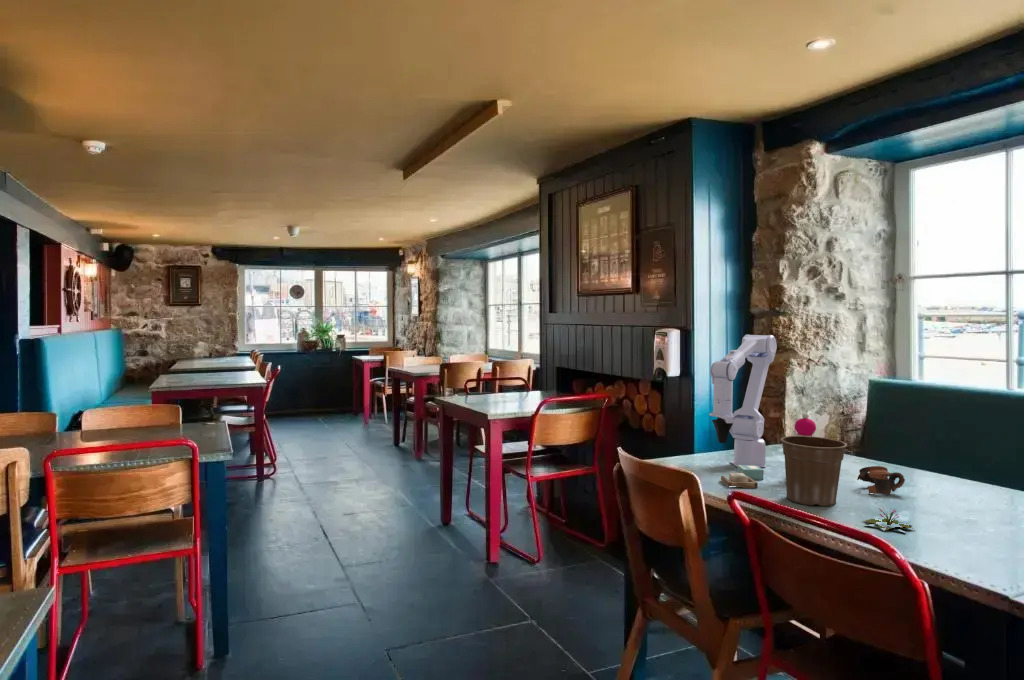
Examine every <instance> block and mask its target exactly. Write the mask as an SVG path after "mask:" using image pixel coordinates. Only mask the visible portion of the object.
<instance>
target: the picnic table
mask: <svg viewBox="0 0 1024 680" xmlns="http://www.w3.org/2000/svg"><path fill="white" fill-rule="evenodd" d="M747 477H748V482H731V481H729V478H727V477H726V476H724V475H721V476H720V481H721V480H722V481H723V482H724V483H725V484H727V485H728V486H736V487H743V488H742V489H758V488H759V487H758V484H759V483H758V481H756V480H753V479H751V478H750V477H749V476H747ZM722 481H721V482H722ZM723 482H722V483H723ZM724 483H723V484H724ZM725 484H724V485H725ZM728 486H727V487H728Z"/></svg>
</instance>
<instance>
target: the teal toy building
mask: <svg viewBox="0 0 1024 680" xmlns="http://www.w3.org/2000/svg"><path fill="white" fill-rule="evenodd" d="M736 471H737V472H736V473H743V474H745V475H746V476H749V477H750V478H751V479H753V480H754V481H756V480H758V481H759V480H761V481H762V480H764V479H765V477H764V475H765V474H764V473H765V472H764V469H763V467H759V466H757V465H738V466H737V470H736Z"/></svg>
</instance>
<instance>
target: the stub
mask: <svg viewBox="0 0 1024 680" xmlns="http://www.w3.org/2000/svg"><path fill="white" fill-rule="evenodd" d="M728 480H729V481H731V482H748V477H747V476H746V475H745V474H743V473H737V472H729V473H728Z"/></svg>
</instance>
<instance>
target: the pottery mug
mask: <svg viewBox="0 0 1024 680" xmlns="http://www.w3.org/2000/svg"><path fill="white" fill-rule="evenodd" d="M858 472H859V474H858V476H857V478H856V480H857V481H859V480H860V481H863V482H867V483H870V484H873V485H868V486H867V490H868V494H869V493H874V494H873V495H875V494H876V495H877V494H879V495H887V494H890V493H891V492H893V493H894V492H895V491H896V490H897V489H899V488H901V487H903V486H904V483H905V481H906V479H905V476H904V475H903V473H901V472H898V471H897V472H890V471H888V468H887V467H885V466H880V465H873V466H864V467H862V468H860V469H859V470H858ZM897 479H898V481H897V482H896V483H895V481H896V480H897ZM891 494H892V493H891Z"/></svg>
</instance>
